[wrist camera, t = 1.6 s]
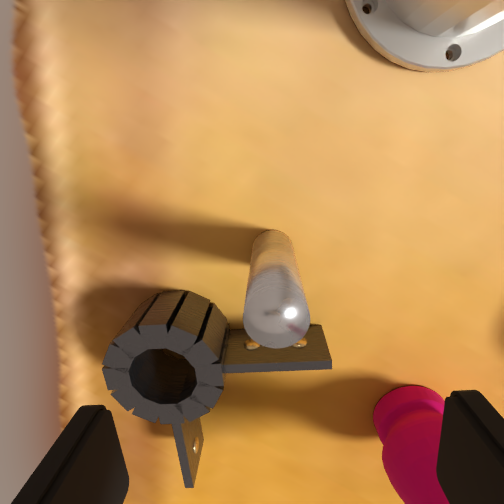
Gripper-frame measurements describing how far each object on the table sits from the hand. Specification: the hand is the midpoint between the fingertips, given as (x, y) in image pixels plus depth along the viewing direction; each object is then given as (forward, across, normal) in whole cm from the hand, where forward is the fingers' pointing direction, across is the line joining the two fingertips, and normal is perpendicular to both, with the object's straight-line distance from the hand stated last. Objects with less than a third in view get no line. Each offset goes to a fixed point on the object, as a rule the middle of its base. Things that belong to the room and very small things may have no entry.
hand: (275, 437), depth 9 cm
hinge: (+16, +4, +10) cm, 19 cm away
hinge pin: (+16, 0, -1) cm, 16 cm away
